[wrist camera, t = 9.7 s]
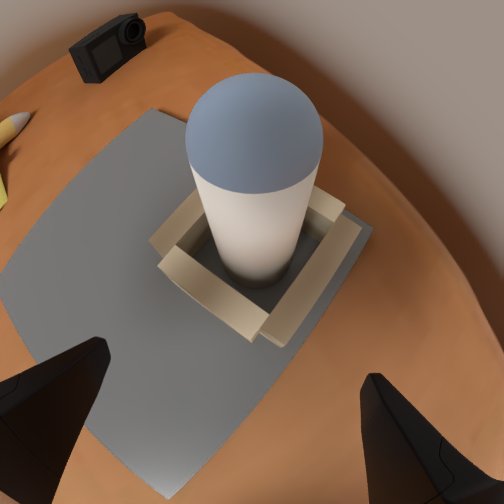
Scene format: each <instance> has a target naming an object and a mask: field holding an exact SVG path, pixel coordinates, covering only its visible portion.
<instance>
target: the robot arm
mask: <svg viewBox="0 0 504 504" xmlns="http://www.w3.org/2000/svg"><path fill="white" fill-rule="evenodd" d="M110 361H111V354H110V350H109V347H108V344H107V341H106V339H104V338H102V337H98V336H94V337H92V338H90V339H88V340H86V341H84V342H82V343H80V344H78V345H76V346H74V347H72V348H70V349H68V350H66V351H64V352H62V353H60V354H58V355H56V356H54V357H52V358H50V359H48V360H46V361H44V362H42V363H40V364H37V365H35V366H33V367H31V368H29V369H27V370H25V371H23V372H21V373H19V374H17V375H15V376H13V377H11V378H9V379H6V380H4V381H2V382H0V504H52V501H53V498H54V496H55V493H56V490H57V488H58V485H59V482H60V479H61V477H62V474H63V472H64V469H65V467H66V464H67V462H68V459H69V457H70V455H71V452H72V450H73V448H74V445H75V443H76V441H77V439H78V436H79V434H80V432H81V430H82V427H83V425H84V423H85V421H86V419H87V417H88V415H89V412H90V410H91V408H92V406H93V404H94V402H95V400H96V398H97V396H98V393H99V391H100V388H101V385H102V383H103V380H104V377H105V374H106V372H107V369H108V367H109V364H110ZM360 408H361V433H362V441H363V449H364V456H365V465H366V473H367V483H368V494H369V504H504V481H500V480H496V479H493V478H491V477H490V476H488V475H487V474H485V473H484V472H483V471H482V470H480V469H479V468H478V467H477V466H475V465H474V464H473V463H472V462H470V461H469V460H468V459H467V458H466V457H464V456H463V455H462V454H461V453H460V452H459V451H458V450H457V449H455V448H454V447H453V446H452V445H451V444H450V443H449V442H448V441H447V440H446V439H445V438H444V437H443V436H442V435H441V434H440V433H439V432H438V431H437V430H436V429H435V428H434V427H433V426H432V425H431V423H430V422H429V421H428V420H427V419H426V418H425V417H424V416H423V415H422V414H421V413H420V412H419V411H418V410H417V409H416V408H415V407H414V406H413V405H412V404H411V403H410V402H409V401H408V400H407V399H406V398H405V397H404V396H403V395H402V394H401V393H400V392H399V391H398V390H397V389H396V388H395V387H394V386H393V385H392V384H391V383H390V382H389V381H388V380H387V379H386V378H385V377H384V376H383V375H382V374H381V373H369V374H368V375H367V377H366V379H365V381H364V383H363V385H362V388H361V390H360Z"/></svg>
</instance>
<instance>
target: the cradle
mask: <svg viewBox="0 0 504 504" xmlns="http://www.w3.org/2000/svg"><path fill="white" fill-rule="evenodd" d="M345 205H346V204H344V203H343V202H341V201H340V200H338V199H336V198H335V197H333V196H331V195H330V194H328V193H327V192H325V191H323V190H322V189H320V188H318V187H317V186H315V185H313V188H312V192H311V195H310V199H309V203H308V206H307V210H306V213H305V217H304V220H303V223H302V227H301V230H302V231H303V232H305V233H307V234H308V235H310V236H311V237H313V238H314V239H316V240H317V241H319V242H320V244H319V246H318V247H317V249H316V250H315V252H314V253H313V255H312V256H311V258H310V259H309V260H308V262H307V263H306V265H305V266H304V268H303V269H302V270H301V272H300V273H299V275H298V276H297V278H296V279H295V280H294V282H293V283H292V285H291V286H290V287H289V289H288V290H287V291H286V293H285V294H284V296H283V297H282V298H281V300H280V301H279V303H278V304H277V305H276V307H275V308H274V309H273V311H272V312H271V313H270V314H268V313H267V312H265V311H264V310H262V309H261V308H260V307H258V306H257V305H255V304H254V303H253V302H251V301H250V300H249V299H247V298H246V297H244V296H243V295H242V294H240V293H239V292H237V291H236V290H235V289H233V288H232V287H231V286H229V285H228V284H227V283H225V282H224V281H222V280H221V279H220V278H218V277H217V276H216V275H214V274H213V273H212V272H210V271H209V270H208V269H206V268H205V267H204V266H202V265H201V264H200V263H198V262H197V261H196V260H194V259H193V257H194V256H195V255H196V254H197V252H198V251H199V250H200V249H201V248H202V247H203V245H204V244H205V243H206V242H207V241H208V240H209V238H210V237H211V236H212V232H211V229H210V226H209V222H208V219H207V216H206V213H205V210H204V207H203V204H202V201H201V198H200V195H199V192H198V188H196V189H195V190H194V191H193V192H192V193H191V194H190V195H189V196H188V197H187V199H186V200H185V201H184V202H183V203H182V204H181V205H180V206H179V207H178V208H177V209H176V210H175V211H174V212H173V213H172V214H171V216H170V217H169V218H168V219H167V220H166V221H165V222H164V223H163V224H162V225H161V227H160V228H159V229H158V230H157V231H156V232H155V233H154V234H153V235H152V237H151V238H150V239H149V240H148V241H149V242H150V243H151V245H152V246H153V247H154V248H155V249H156V251H157V252H158V253H159V254H160V255H161V257H162V258H163V260H162V261H161V262H160V263H159V264H158V267H159V268H160V269H161V270H162V271H163V272H164V273H165V274H166V275H167V277H168V278H169V279H170V280H171V281H172V282H173V283H175V284H176V285H177V286H178V287H180V288H181V289H182V290H183V291H184V292H186V293H187V294H188V295H189V296H191V297H192V298H193V299H194V300H196V301H197V302H198V303H199V304H201V305H202V306H203V307H204V308H206V309H207V310H208V311H210V312H211V313H212V314H213V315H215V316H216V317H217V318H219V319H220V320H221V321H223V322H224V323H225V324H226V325H228V326H229V327H230V328H232V329H233V330H234V331H236V332H237V333H239V334H240V335H241V336H243V337H244V338H245V339H247V340H248V341H249V342H251V343H253V342H254V341H255V339H256V338H257V337H258V335H259V334H262V335H263V336H264V337H266V338H267V339H269V340H270V341H272V342H273V343H274V344H276V345H277V346H279V347H280V348H282V347H283V346H285V345H286V344H287V343H288V341H289V340H290V339H291V337H292V336H293V334H294V333H295V332H296V330H297V329H298V327H299V326H300V325H301V323H302V322H303V320H304V319H305V317H306V316H307V314H308V313H309V311H310V310H311V309H312V307H313V306H314V304H315V303H316V301H317V300H318V298H319V297H320V295H321V294H322V292H323V290H324V289H325V287H326V286H327V284H328V283H329V281H330V280H331V278H332V277H333V275H334V273H335V272H336V270H337V269H338V267H339V265H340V264H341V262H342V261H343V259H344V257H345V256H346V254H347V252H348V251H349V249H350V247H351V246H352V244H353V242H354V241H355V239H356V237H357V236H358V234H359V232H360V231H361V229H362V227H360V226H359V225H357V224H356V223H354V222H353V221H351V220H350V219H348V218H347V217H345V216H344V215H342V212H343V210H344V207H345Z"/></svg>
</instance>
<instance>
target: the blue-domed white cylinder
mask: <svg viewBox="0 0 504 504" xmlns="http://www.w3.org/2000/svg"><path fill="white" fill-rule="evenodd" d="M185 145H186V152H187V156H188V160H189V163H190V166H191V169H192V173H193V176H194V179H195V182H196V185H197V188H198V192H199V195H200V198H201V201H202V204H203V207H204V210H205V213H206V216H207V219H208V222H209V226H210V229H211V232H212V235H213V238H214V241H215V243H216V246H217V249H218V252H219V255H220V258H221V261H222V264H223V267H224V269H225V271H226V273H227V274H228V276H229V277H230V278H231V279H232V280H233V281H235V282H236V283H238V284H240V285H242V286H244V287H248V288H255V289H257V288H265V287H268V286H271V285H273V284H275V283H277V282H278V281H279V280H281V279H282V278H283V277H284V275H285V274H286V273H287V271H288V269H289V267H290V264H291V260H292V257H293V254H294V250H295V247H296V244H297V240H298V237H299V234H300V230H301V227H302V223H303V220H304V217H305V213H306V210H307V206H308V203H309V199H310V195H311V192H312V188H313V185H314V181H315V177H316V174H317V170H318V166H319V162H320V159H321V155H322V150H323V129H322V124H321V121H320V118H319V115H318V113H317V111H316V109H315V107H314V105H313V104H312V102H311V101H310V100H309V98H308V97H307V96H306V95H305V94H304V93H303V92H302V91H301V90H300V89H299V88H297V87H296V86H295V85H293V84H291V83H289V82H288V81H286V80H284V79H282V78H279V77H277V76H273V75H269V74H264V73H245V74H239V75H235V76H232V77H229V78H226V79H224V80H222V81H220V82H218V83H217V84H215V85H214V86H212V87H211V88H210V89H208V90H207V91H206V92H205V93H204V94H203V95H202V96H201V98H200V99H199V100H198V101H197V103H196V104H195V106H194V108H193V110H192V111H191V114H190V116H189V119H188V122H187V127H186V133H185Z"/></svg>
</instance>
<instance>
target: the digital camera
mask: <svg viewBox="0 0 504 504" xmlns="http://www.w3.org/2000/svg"><path fill="white" fill-rule="evenodd" d="M145 31H146V26H145V23H144V21H143V20H142V19H140V18H139V17H138V14H137V13H132V14H126V15H119V16H118V17H116V18H114V19H112V20H110V21H109V22H107V23H106V24H104V25H103V26H101V27H99V28H98V29H96V30H94V31H93V32H91V33H90V34H88V35H87V36H86V37H84V38H83V39H81V40H80V41H79V42H77V43H76V44H75V45H73V46H72V47H70V48H69V52H70V54H71V56H72V58H73V61H74V63H75V65H76V67H77V69H78V71H79V73H80V75H81V77H82V79H83V81H84V83H102V82H103V81H104V80H105V79H106V78H108V77H109V76H110V75H111V74H112V73H114V72H115V71H116V70H117V69H119V68H120V67H121V66H122V65H124V64H125V63H126V62H127V61H129V60H130V59H131V58H133V57H134V56H135V55H137V54H138V53H139V52H141V51H142V50H144V49H145V48H146V43H145V39H144V35H145Z"/></svg>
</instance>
